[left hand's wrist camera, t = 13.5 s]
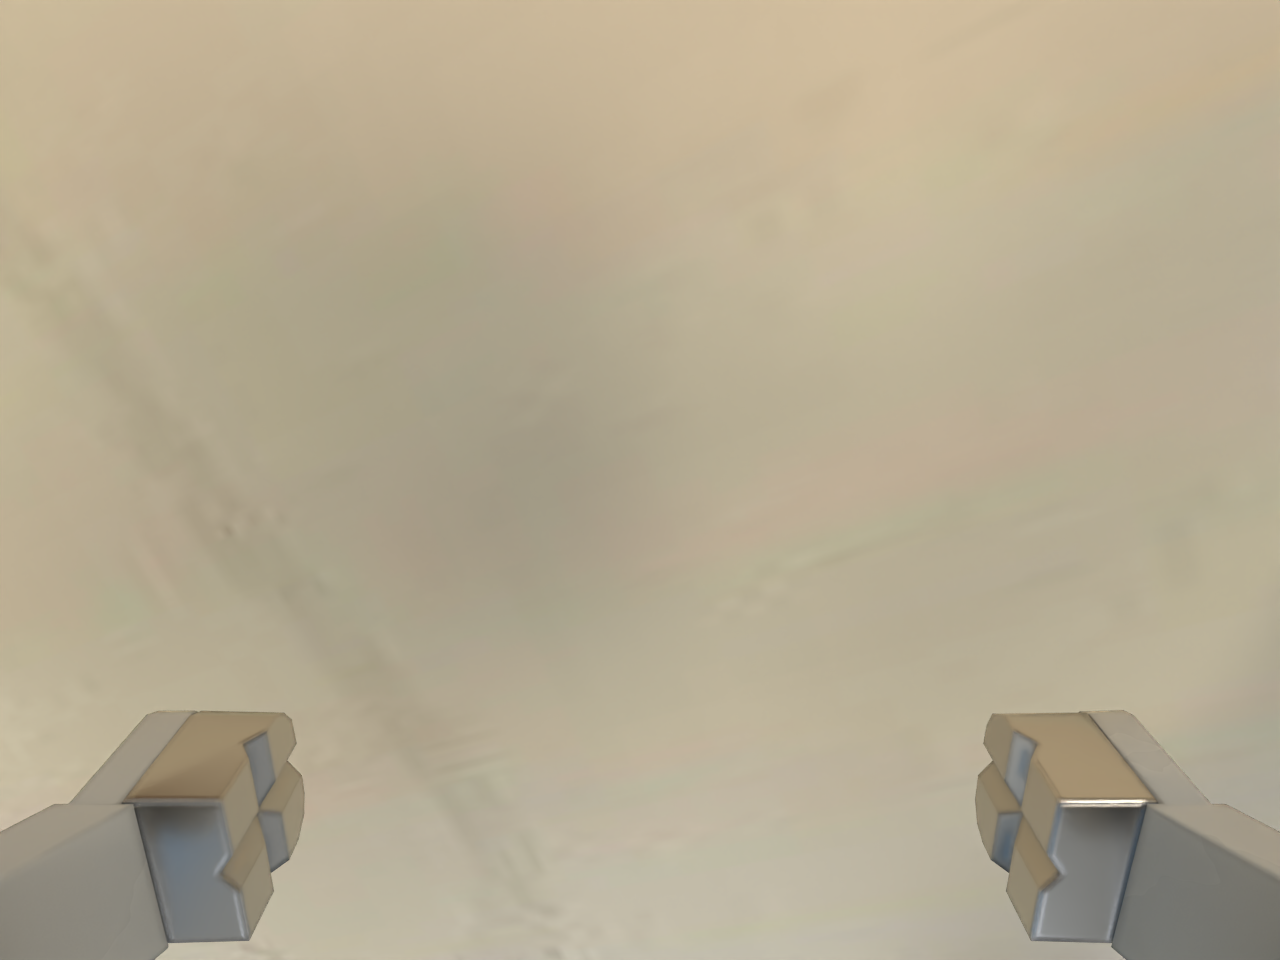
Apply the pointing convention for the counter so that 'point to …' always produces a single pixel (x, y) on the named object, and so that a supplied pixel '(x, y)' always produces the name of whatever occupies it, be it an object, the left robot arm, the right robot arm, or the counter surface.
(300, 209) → the counter surface
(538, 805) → the counter surface
